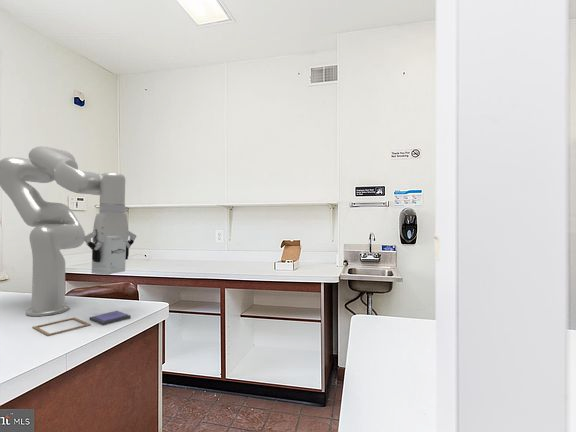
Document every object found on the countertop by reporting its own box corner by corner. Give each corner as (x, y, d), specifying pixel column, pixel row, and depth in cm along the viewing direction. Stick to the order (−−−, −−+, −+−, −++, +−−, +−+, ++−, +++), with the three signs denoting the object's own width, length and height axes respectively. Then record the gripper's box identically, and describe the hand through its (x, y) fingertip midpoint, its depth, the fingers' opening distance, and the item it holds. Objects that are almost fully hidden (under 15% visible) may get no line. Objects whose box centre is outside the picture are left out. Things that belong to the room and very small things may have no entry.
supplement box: (108, 275, 103) (109, 236, 103) (90, 273, 104) (91, 235, 105) (126, 271, 110) (127, 235, 110) (108, 270, 112) (109, 234, 112)
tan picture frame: (32, 328, 97) (32, 326, 97) (74, 318, 107) (74, 317, 107) (47, 336, 91) (47, 334, 91) (90, 325, 100) (90, 324, 100)
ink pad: (89, 320, 105) (89, 316, 105) (116, 313, 113) (116, 310, 113) (103, 325, 100) (103, 321, 100) (130, 318, 108) (130, 314, 108)
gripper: (130, 210, 116) (129, 257, 116) (78, 208, 102) (77, 262, 102) (142, 210, 112) (141, 259, 112) (90, 208, 98) (88, 264, 98)
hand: (110, 260), depth 107 cm, fingers closed on supplement box, 8 cm apart
